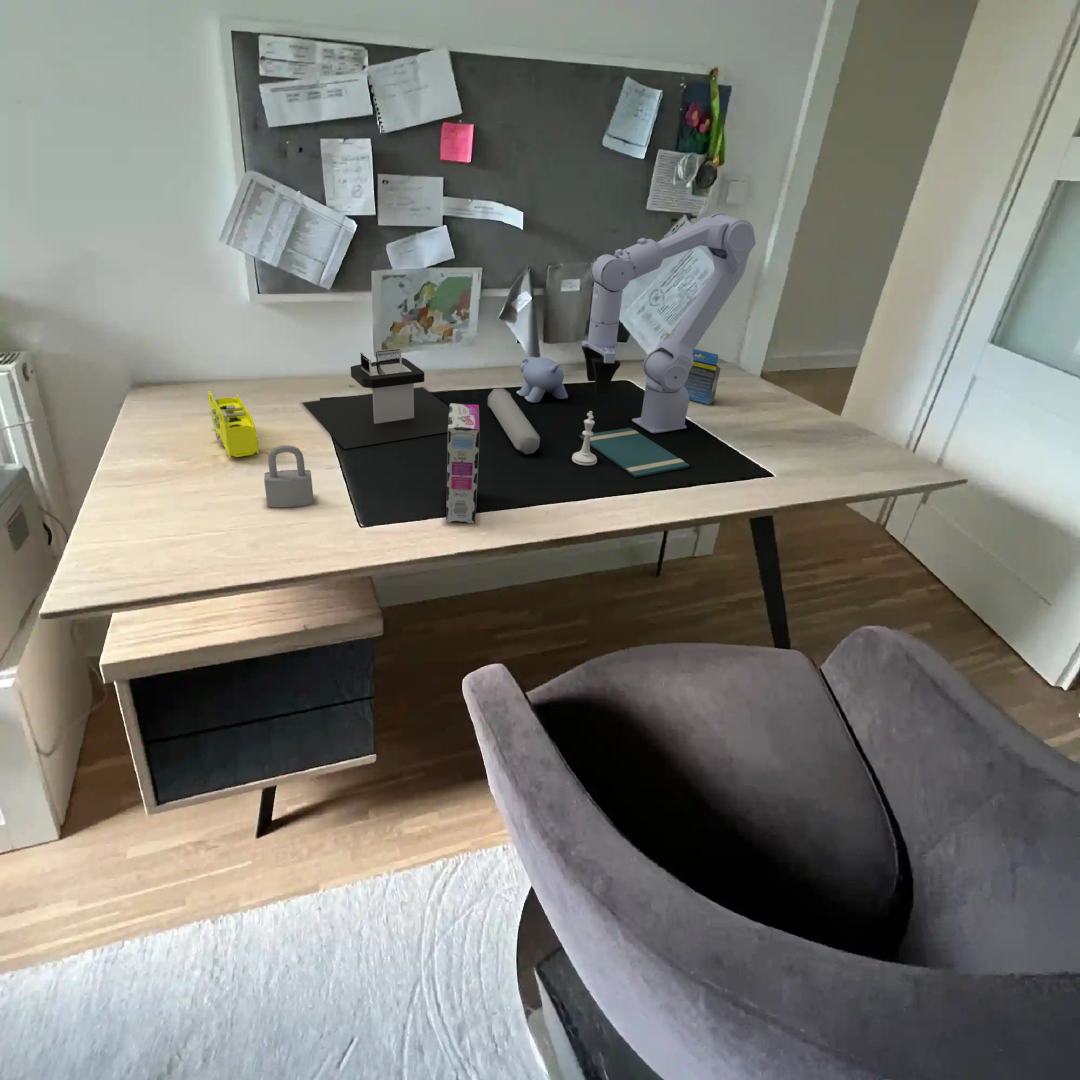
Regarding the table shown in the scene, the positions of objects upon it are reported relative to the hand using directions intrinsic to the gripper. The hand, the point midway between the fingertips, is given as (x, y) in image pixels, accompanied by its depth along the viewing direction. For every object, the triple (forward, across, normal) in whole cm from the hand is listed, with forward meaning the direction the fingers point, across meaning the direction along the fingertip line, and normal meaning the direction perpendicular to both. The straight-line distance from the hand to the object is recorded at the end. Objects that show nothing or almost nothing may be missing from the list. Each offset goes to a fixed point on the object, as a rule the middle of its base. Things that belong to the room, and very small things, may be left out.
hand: (596, 386), depth 150 cm
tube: (+10, +2, -17) cm, 20 cm away
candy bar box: (+10, +34, -30) cm, 47 cm away
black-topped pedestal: (+10, -7, -43) cm, 44 cm away
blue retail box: (+10, -20, +30) cm, 37 cm away
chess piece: (+10, +16, -5) cm, 19 cm away
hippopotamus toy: (+10, -22, -8) cm, 25 cm away
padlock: (+10, +32, -58) cm, 66 cm away
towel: (+9, +12, +6) cm, 16 cm away
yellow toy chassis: (+10, +8, -71) cm, 72 cm away
